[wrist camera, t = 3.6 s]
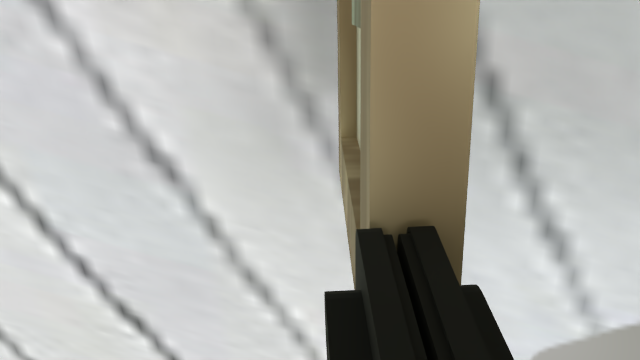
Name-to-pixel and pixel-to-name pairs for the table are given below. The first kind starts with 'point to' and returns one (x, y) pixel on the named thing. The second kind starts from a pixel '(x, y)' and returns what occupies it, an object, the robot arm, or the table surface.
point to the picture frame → (406, 116)
